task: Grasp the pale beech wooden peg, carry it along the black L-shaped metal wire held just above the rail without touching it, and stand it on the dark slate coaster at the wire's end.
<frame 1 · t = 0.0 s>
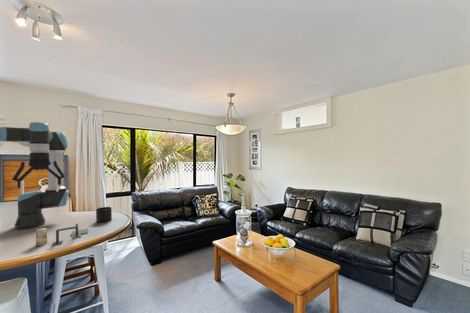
hand: (40, 192, 110), 28 cm above the breakfast bar, fingers open, 13 cm apart
wire: (76, 240, 117), on the breakfast bar
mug: (103, 221, 151), on the breakfast bar
coaster: (79, 232, 129), on the breakfast bar
beech peg: (41, 244, 112), on the breakfast bar
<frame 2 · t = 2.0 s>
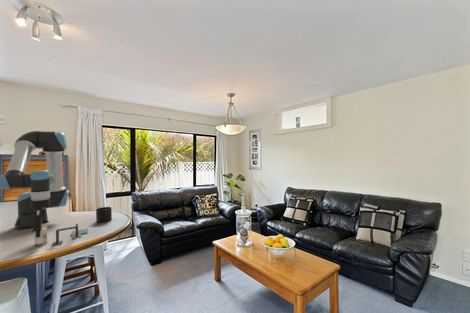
hand: (41, 239, 112), 3 cm above the breakfast bar, fingers open, 13 cm apart
nothing on the breakfast bar moved.
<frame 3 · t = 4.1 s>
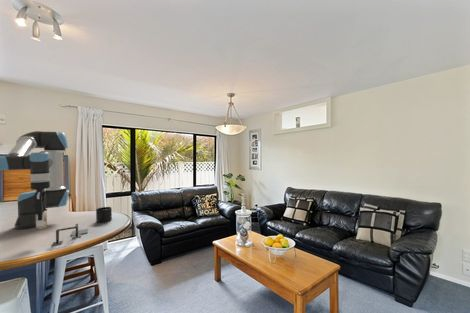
hand: (41, 224, 113), 10 cm above the breakfast bar, fingers closed on beech peg, 4 cm apart
beech peg: (41, 227, 113), point 9 cm above the breakfast bar, touching gripper
everything else where it was.
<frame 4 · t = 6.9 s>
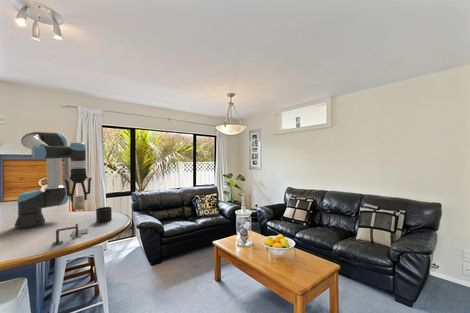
hand: (79, 206, 128), 16 cm above the breakfast bar, fingers closed on beech peg, 4 cm apart
beech peg: (79, 209, 128), point 15 cm above the breakfast bar, touching gripper
everything else where it was.
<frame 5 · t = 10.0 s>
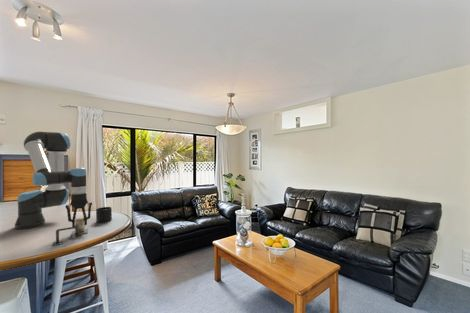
hand: (79, 231, 128), 1 cm above the breakfast bar, fingers closed on beech peg, coaster, 3 cm apart
beech peg: (80, 231, 129), point 1 cm above the breakfast bar, touching gripper
everything else where it was.
when the fingers open (1 cm above the breakfast bar, at t = 10.1 s): beech peg stays where it is, resting on coaster.
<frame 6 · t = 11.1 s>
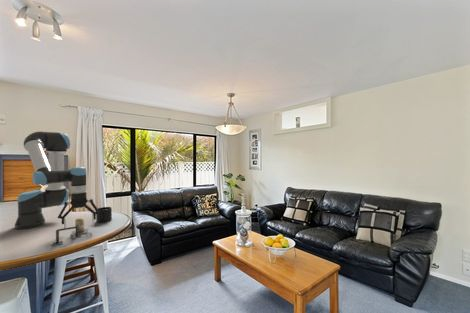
hand: (79, 227, 129), 4 cm above the breakfast bar, fingers open, 13 cm apart
beech peg: (80, 231, 129), point 1 cm above the breakfast bar, touching coaster
everything else where it was.
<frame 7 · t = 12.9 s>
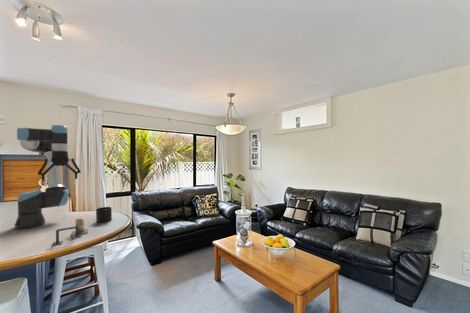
hand: (60, 185, 129), 29 cm above the breakfast bar, fingers open, 13 cm apart
nothing on the breakfast bar moved.
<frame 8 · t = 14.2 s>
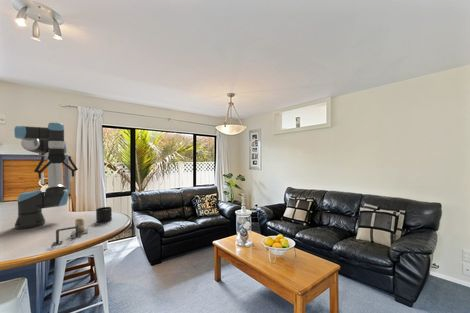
hand: (57, 182, 129), 31 cm above the breakfast bar, fingers open, 13 cm apart
nothing on the breakfast bar moved.
at the end: beech peg inside the target area on the coaster (0.1 cm from its centre), point 0.6 cm above the coaster's base; beech peg tilted 0°; beech peg touching coaster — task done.
